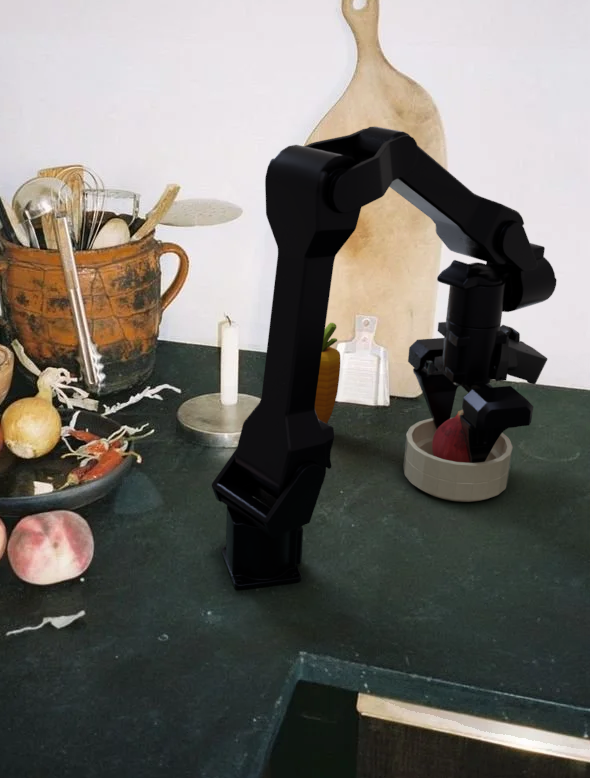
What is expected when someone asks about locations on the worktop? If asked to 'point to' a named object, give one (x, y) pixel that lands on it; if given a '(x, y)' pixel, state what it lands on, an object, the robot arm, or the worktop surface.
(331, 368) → the carrot
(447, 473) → the bowl
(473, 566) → the worktop surface
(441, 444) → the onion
